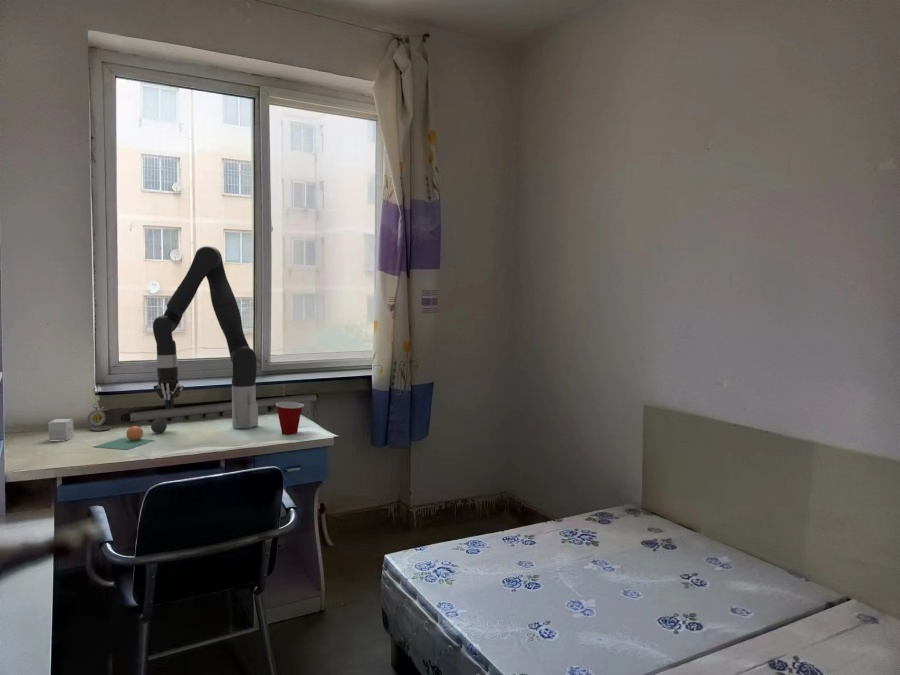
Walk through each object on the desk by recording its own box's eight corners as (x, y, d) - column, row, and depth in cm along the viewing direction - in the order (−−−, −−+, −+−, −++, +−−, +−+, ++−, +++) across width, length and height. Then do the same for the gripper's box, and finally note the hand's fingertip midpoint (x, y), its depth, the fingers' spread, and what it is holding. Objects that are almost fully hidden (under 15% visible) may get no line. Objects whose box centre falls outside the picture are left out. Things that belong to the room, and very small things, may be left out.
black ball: (163, 418, 233) (158, 431, 230) (171, 422, 237) (166, 435, 235) (150, 416, 234) (145, 430, 232) (159, 421, 239) (154, 434, 236)
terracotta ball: (138, 424, 220) (133, 439, 218) (148, 428, 225) (143, 443, 223) (125, 423, 221) (120, 438, 219) (135, 428, 226) (130, 442, 224)
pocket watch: (104, 431, 236) (103, 406, 236) (83, 431, 236) (82, 406, 236) (116, 427, 244) (115, 403, 244) (96, 427, 245) (95, 402, 244)
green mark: (155, 440, 223) (155, 440, 223) (127, 449, 209) (127, 449, 209) (123, 438, 226) (123, 437, 226) (93, 447, 213) (93, 446, 213)
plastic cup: (299, 437, 231) (299, 406, 230) (271, 436, 231) (271, 405, 231) (307, 430, 242) (307, 401, 241) (281, 430, 242) (281, 400, 241)
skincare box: (74, 437, 226) (73, 418, 226) (66, 441, 220) (65, 421, 220) (56, 438, 225) (55, 418, 225) (48, 442, 219) (47, 422, 219)
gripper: (188, 364, 241) (190, 407, 242) (160, 364, 244) (162, 406, 245) (175, 367, 233) (177, 411, 235) (146, 366, 237) (148, 410, 238)
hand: (169, 408), depth 240 cm, fingers closed
